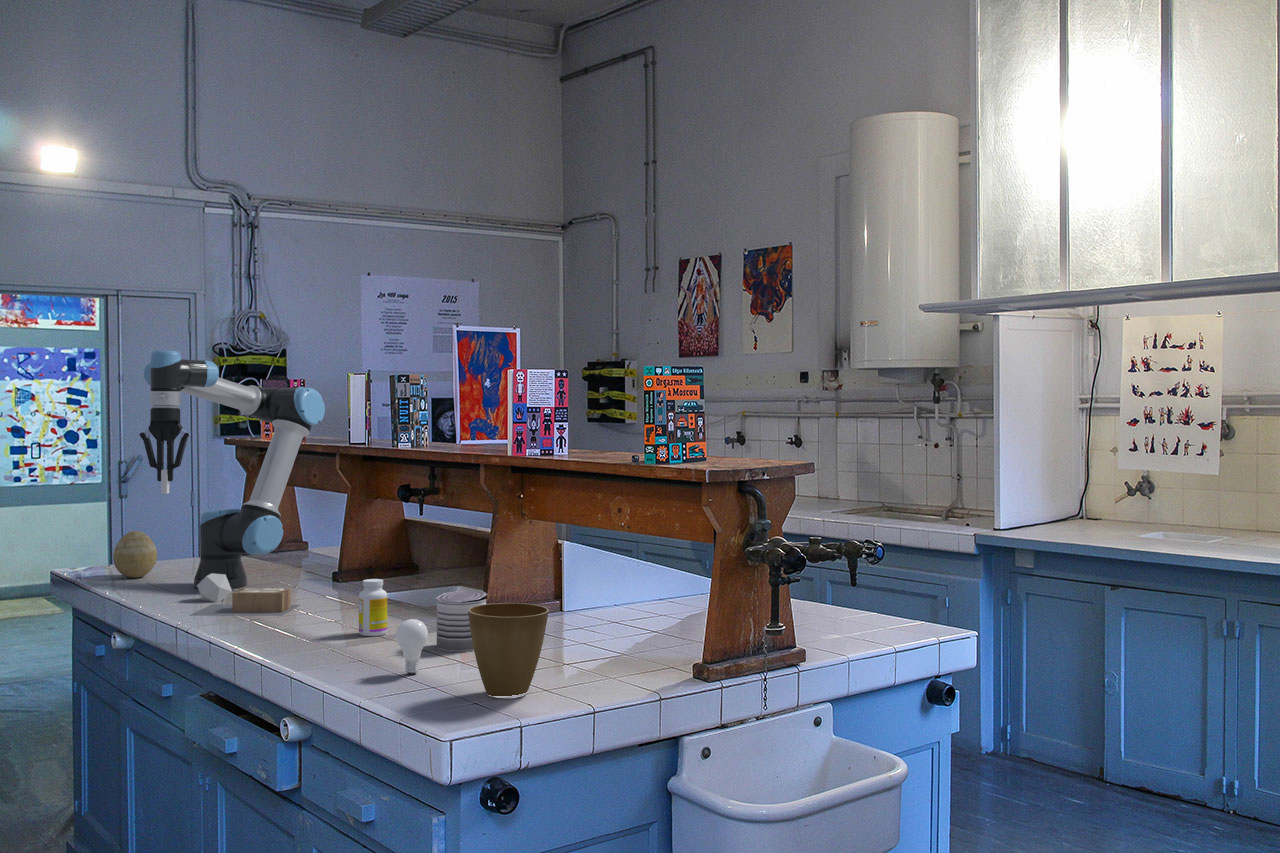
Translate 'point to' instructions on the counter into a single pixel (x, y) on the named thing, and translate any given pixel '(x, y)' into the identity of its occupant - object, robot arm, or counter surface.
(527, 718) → the counter surface
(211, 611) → the mat
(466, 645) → the can
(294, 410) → the robot arm
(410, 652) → the lightbulb
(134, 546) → the fossilized egg
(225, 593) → the die
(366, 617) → the supplement bottle
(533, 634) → the plant pot
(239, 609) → the label block
